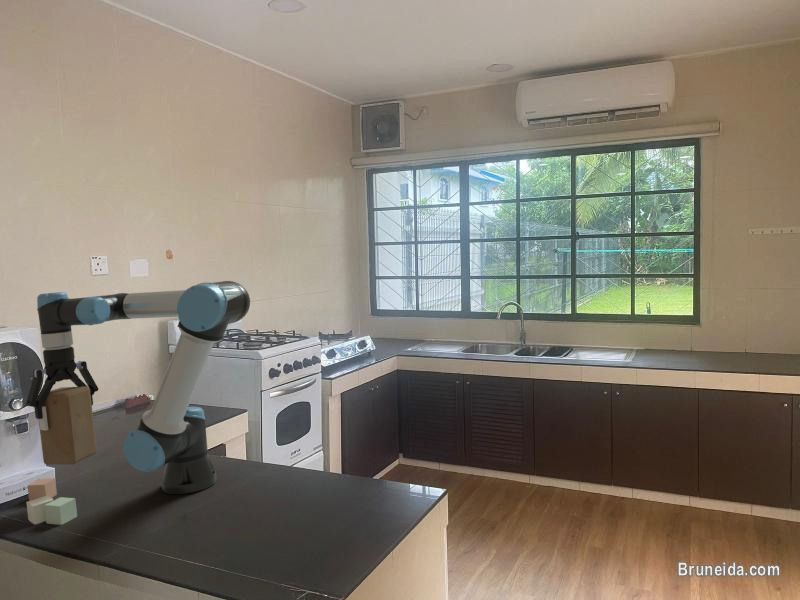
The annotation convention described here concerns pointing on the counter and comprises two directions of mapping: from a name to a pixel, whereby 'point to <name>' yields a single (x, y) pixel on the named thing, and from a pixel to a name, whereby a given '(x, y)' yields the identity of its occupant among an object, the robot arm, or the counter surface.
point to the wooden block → (68, 426)
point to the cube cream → (37, 509)
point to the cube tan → (42, 488)
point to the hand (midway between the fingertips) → (67, 423)
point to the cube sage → (60, 510)
